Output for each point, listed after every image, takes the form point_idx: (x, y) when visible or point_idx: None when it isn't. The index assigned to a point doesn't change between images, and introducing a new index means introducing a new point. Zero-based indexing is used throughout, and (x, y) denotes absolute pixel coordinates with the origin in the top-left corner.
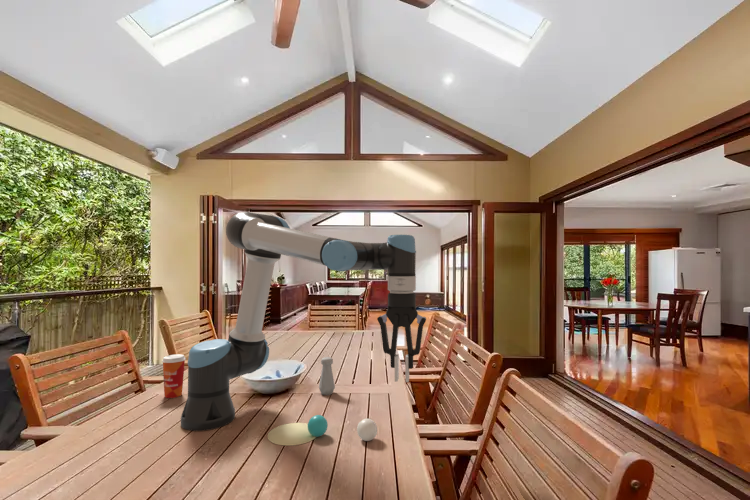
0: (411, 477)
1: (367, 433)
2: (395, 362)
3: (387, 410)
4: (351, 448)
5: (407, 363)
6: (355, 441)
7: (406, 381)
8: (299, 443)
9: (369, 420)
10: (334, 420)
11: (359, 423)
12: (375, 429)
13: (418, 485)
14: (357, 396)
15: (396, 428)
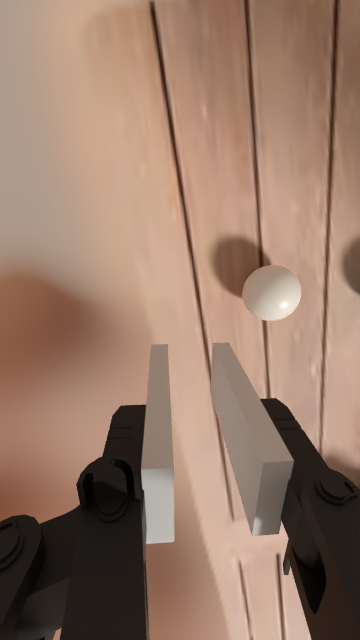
0: (127, 102)
1: (268, 266)
2: (261, 416)
3: None
4: (295, 235)
5: (151, 420)
6: None
7: (161, 345)
8: None
9: (274, 296)
10: (346, 370)
11: (299, 290)
12: (249, 285)
13: (103, 58)
14: None
15: (196, 358)
